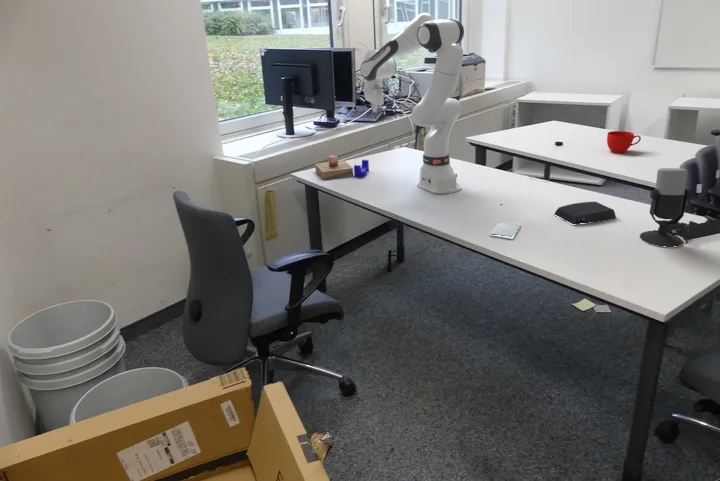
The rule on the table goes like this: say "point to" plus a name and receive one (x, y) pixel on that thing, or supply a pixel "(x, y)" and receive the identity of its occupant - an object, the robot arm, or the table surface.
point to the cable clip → (361, 169)
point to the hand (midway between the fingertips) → (374, 111)
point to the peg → (333, 161)
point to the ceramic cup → (620, 141)
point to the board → (334, 170)
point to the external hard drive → (585, 212)
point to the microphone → (667, 205)
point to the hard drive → (505, 229)
